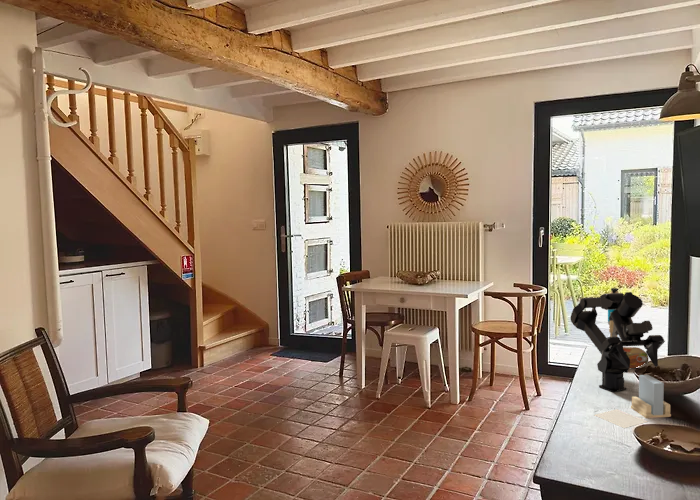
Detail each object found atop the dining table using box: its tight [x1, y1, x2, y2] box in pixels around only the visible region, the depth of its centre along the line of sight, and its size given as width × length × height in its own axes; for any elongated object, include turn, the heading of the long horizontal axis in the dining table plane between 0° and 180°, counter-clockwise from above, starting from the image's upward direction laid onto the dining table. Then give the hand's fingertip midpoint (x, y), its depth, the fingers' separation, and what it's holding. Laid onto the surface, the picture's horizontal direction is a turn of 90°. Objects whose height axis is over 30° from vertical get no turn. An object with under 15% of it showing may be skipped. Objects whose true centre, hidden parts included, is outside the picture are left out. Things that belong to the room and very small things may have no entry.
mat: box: [594, 408, 649, 429], centre depth 166 cm, size 11×10×1 cm
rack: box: [630, 396, 672, 419], centre depth 170 cm, size 8×8×4 cm
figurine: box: [607, 287, 620, 337], centre depth 225 cm, size 16×6×30 cm, turn 145°
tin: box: [623, 346, 649, 368], centre depth 214 cm, size 15×3×8 cm, turn 73°
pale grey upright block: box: [638, 374, 665, 415], centre depth 169 cm, size 8×3×10 cm, turn 3°
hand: (642, 366), depth 173 cm, fingers open, 9 cm apart
